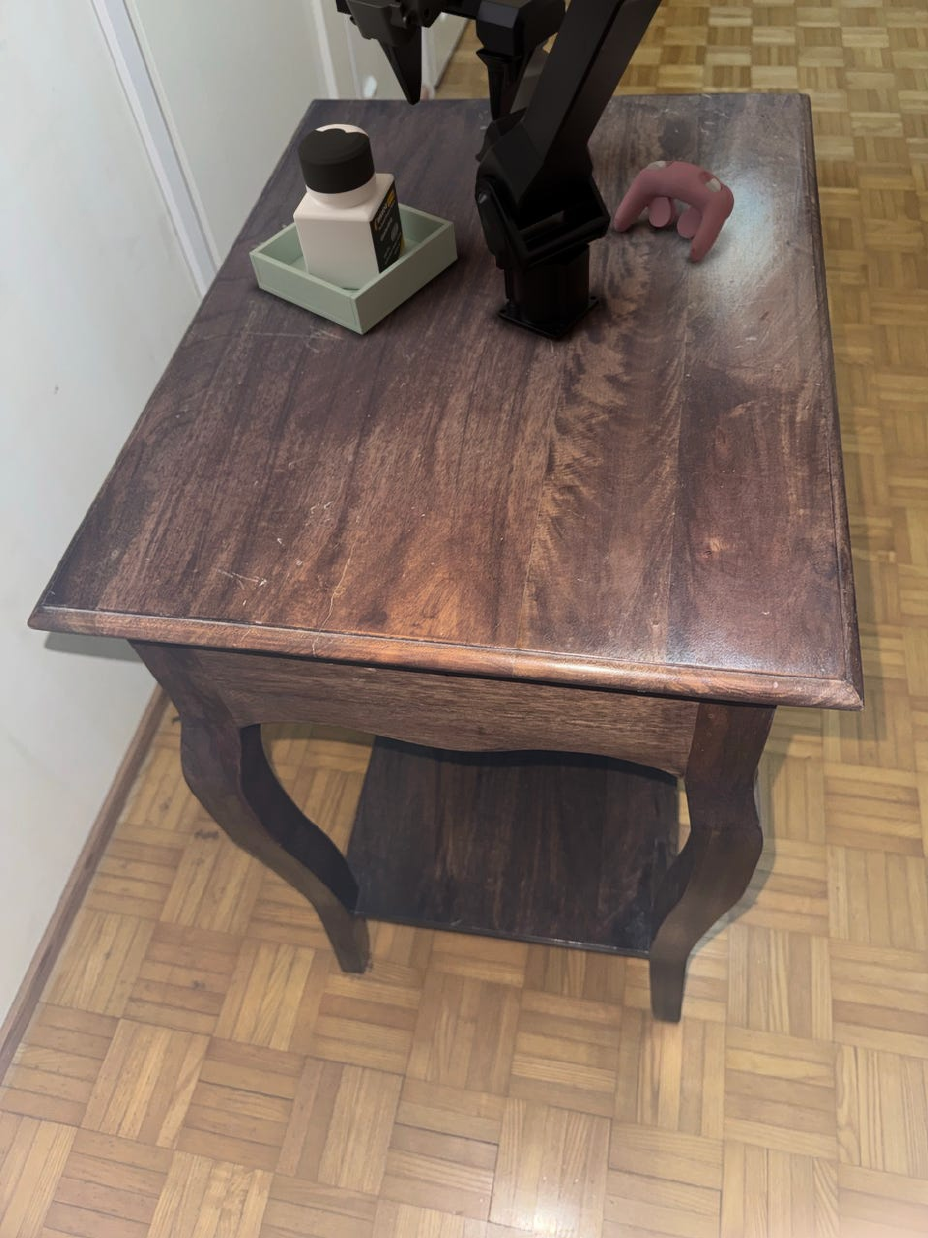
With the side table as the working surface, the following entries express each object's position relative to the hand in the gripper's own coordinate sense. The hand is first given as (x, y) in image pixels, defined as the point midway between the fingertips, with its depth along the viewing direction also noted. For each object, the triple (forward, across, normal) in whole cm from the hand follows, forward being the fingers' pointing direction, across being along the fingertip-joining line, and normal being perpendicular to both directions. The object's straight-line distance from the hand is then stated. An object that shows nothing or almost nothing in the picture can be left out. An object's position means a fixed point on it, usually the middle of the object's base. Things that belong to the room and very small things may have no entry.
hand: (456, 115), depth 75 cm
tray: (+12, -6, -9) cm, 16 cm away
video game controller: (+12, +15, +11) cm, 22 cm away
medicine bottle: (+12, -6, -8) cm, 16 cm away
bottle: (+12, -3, +13) cm, 18 cm away
